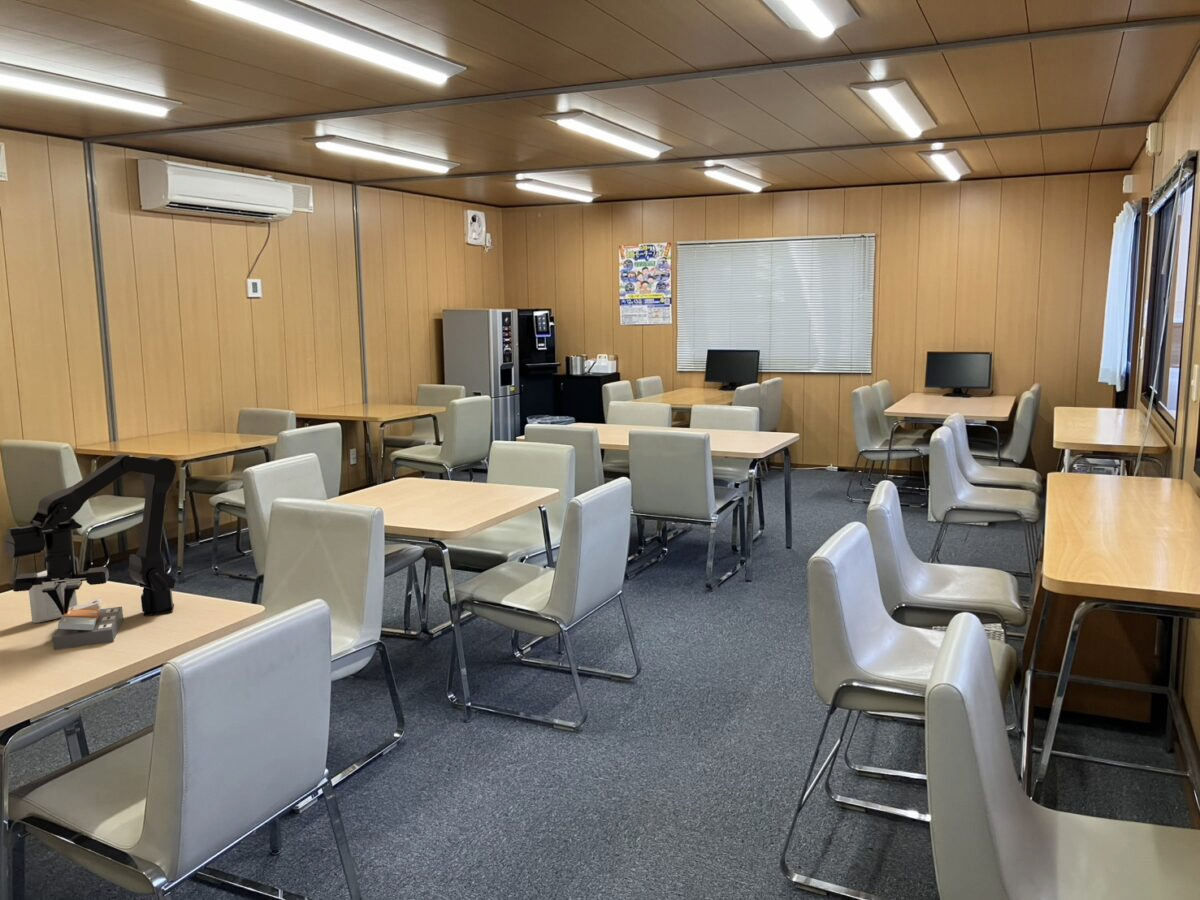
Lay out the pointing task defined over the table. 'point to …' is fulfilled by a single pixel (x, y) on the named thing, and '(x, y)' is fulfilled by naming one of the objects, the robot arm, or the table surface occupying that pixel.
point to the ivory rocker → (88, 605)
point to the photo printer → (46, 602)
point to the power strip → (91, 631)
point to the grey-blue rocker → (77, 623)
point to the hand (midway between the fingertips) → (64, 614)
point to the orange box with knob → (83, 614)
